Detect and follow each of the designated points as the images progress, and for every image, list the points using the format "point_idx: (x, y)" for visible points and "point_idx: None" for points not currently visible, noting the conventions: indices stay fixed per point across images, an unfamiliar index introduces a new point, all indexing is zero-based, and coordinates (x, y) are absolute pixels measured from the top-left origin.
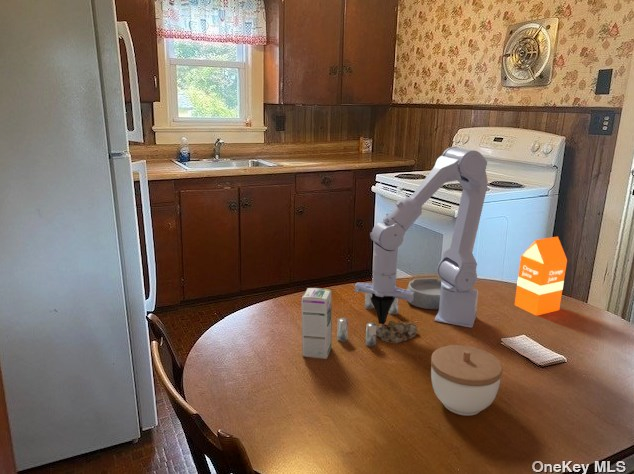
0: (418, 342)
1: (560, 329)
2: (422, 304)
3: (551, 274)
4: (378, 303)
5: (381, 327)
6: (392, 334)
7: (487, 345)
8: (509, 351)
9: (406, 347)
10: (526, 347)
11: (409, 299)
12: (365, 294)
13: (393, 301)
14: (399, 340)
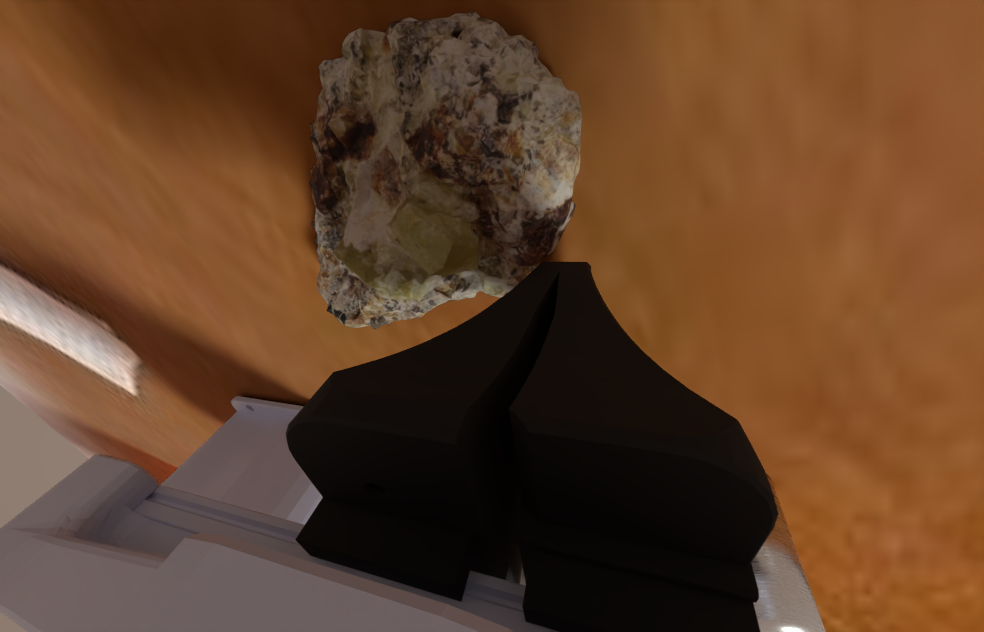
0: (267, 167)
1: (127, 435)
2: None
3: None
4: (547, 389)
5: (487, 102)
6: (386, 101)
7: (105, 291)
8: (41, 277)
9: (260, 24)
10: (57, 324)
11: (80, 488)
12: (811, 595)
13: None
14: (321, 67)
